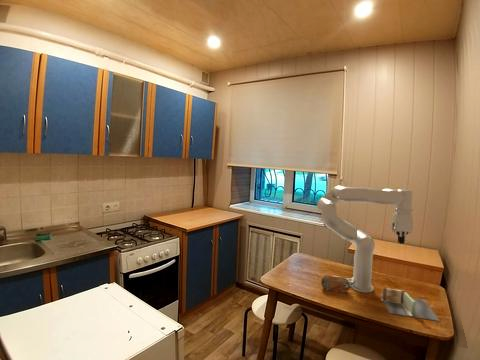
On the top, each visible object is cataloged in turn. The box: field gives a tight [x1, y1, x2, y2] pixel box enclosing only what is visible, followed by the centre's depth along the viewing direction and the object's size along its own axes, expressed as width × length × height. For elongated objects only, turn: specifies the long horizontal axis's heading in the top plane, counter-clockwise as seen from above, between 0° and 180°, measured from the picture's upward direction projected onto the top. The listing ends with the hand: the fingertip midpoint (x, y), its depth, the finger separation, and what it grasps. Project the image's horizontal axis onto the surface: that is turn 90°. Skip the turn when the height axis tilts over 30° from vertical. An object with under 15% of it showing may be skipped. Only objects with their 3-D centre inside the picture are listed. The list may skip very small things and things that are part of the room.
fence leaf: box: [403, 291, 416, 315], centre depth 132 cm, size 10×1×6 cm, turn 172°
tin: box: [320, 274, 351, 294], centre depth 151 cm, size 15×3×8 cm, turn 69°
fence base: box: [380, 287, 440, 322], centre depth 136 cm, size 22×19×7 cm
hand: (400, 243), depth 152 cm, fingers closed
